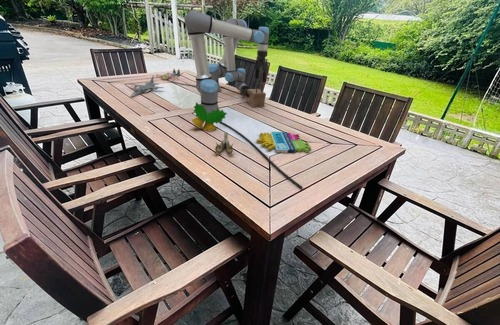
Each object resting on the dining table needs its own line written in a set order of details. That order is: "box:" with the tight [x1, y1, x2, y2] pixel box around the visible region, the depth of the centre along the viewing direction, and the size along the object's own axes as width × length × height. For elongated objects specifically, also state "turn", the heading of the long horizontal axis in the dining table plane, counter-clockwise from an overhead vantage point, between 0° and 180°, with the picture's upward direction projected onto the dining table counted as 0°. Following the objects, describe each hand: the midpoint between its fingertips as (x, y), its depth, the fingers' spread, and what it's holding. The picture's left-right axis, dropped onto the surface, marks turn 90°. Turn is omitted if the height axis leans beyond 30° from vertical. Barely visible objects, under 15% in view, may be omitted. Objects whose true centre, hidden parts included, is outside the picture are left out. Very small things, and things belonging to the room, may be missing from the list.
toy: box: [155, 68, 181, 81], centre depth 282 cm, size 28×7×30 cm
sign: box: [256, 131, 312, 154], centre depth 152 cm, size 26×2×30 cm
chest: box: [246, 91, 266, 108], centre depth 214 cm, size 14×10×10 cm
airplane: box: [129, 74, 165, 98], centre depth 227 cm, size 38×31×10 cm
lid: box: [247, 82, 267, 96], centre depth 209 cm, size 15×10×9 cm
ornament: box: [191, 102, 228, 132], centre depth 162 cm, size 21×8×15 cm, turn 105°
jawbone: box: [214, 131, 234, 156], centre depth 136 cm, size 9×15×10 cm
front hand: (260, 80), depth 202 cm, fingers open, 13 cm apart
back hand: (254, 95), depth 215 cm, fingers closed on chest, 10 cm apart
